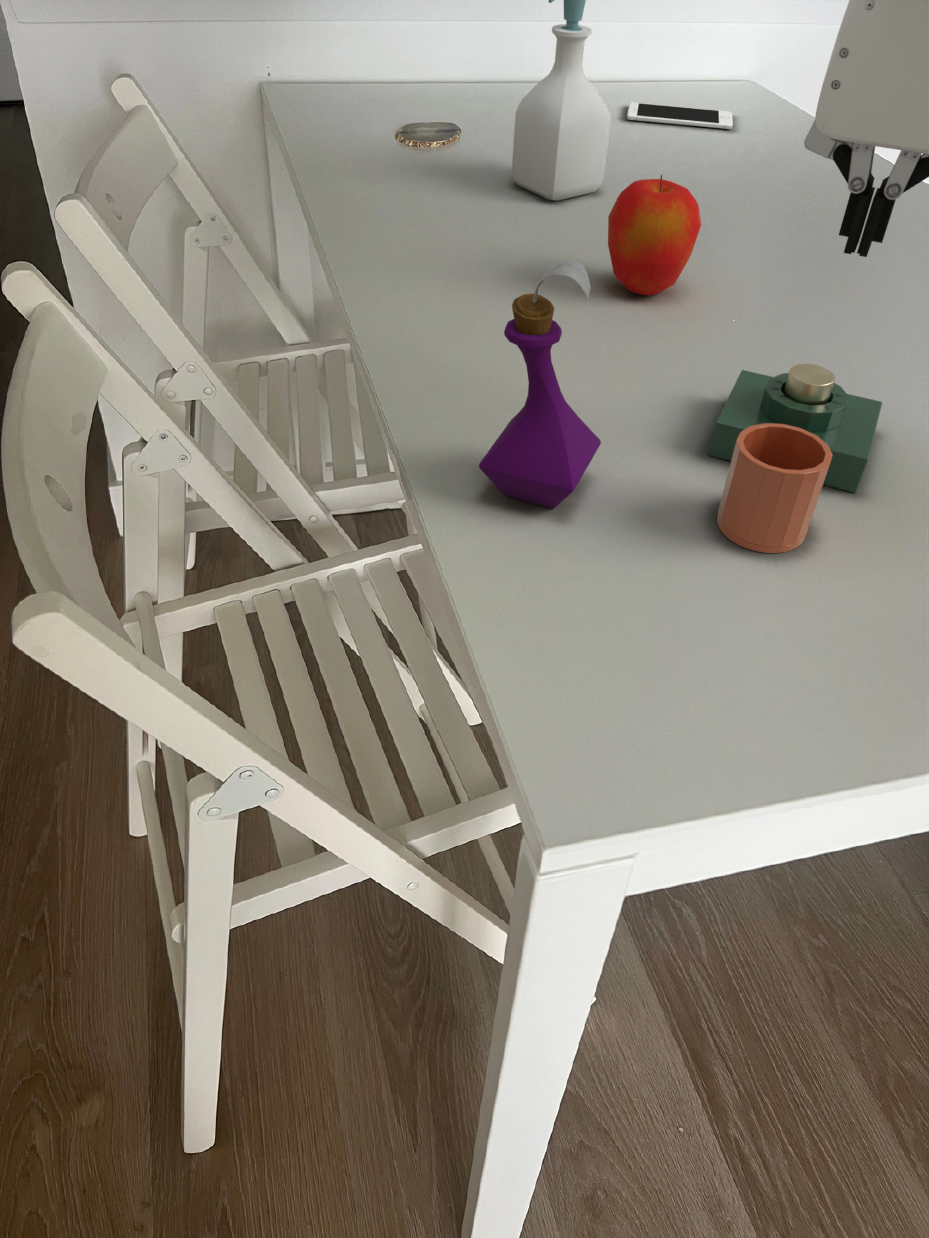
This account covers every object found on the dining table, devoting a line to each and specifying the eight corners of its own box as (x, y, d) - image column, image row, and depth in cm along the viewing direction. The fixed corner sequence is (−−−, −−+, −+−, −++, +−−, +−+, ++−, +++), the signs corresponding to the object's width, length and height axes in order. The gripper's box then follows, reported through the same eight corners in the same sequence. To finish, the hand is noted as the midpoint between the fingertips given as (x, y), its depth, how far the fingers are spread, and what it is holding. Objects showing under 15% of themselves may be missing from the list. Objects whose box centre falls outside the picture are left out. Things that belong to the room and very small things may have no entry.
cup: (811, 515, 76) (838, 436, 72) (797, 563, 72) (824, 483, 67) (727, 492, 78) (747, 415, 73) (707, 538, 74) (728, 458, 69)
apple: (590, 299, 104) (605, 181, 96) (611, 268, 110) (627, 154, 102) (677, 316, 102) (701, 196, 94) (693, 283, 108) (716, 168, 100)
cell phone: (732, 130, 150) (733, 125, 150) (626, 120, 152) (627, 115, 152) (731, 115, 156) (731, 111, 156) (629, 106, 158) (629, 102, 157)
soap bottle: (504, 184, 129) (517, -21, 114) (560, 172, 133) (579, -27, 118) (551, 207, 123) (572, -5, 108) (608, 194, 128) (635, -12, 113)
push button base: (870, 434, 86) (889, 382, 82) (855, 493, 79) (875, 439, 75) (733, 401, 89) (746, 350, 86) (707, 455, 82) (720, 402, 79)
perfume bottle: (475, 502, 76) (488, 273, 64) (509, 454, 81) (526, 234, 69) (568, 526, 74) (599, 296, 62) (596, 475, 79) (630, 254, 67)
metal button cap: (831, 392, 82) (838, 369, 80) (824, 412, 79) (831, 389, 78) (787, 382, 82) (793, 359, 81) (779, 401, 80) (785, 378, 79)
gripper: (1087, -57, 59) (971, 251, 71) (831, -80, 63) (762, 214, 75) (1091, -40, 53) (965, 289, 66) (811, -67, 58) (742, 247, 70)
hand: (857, 248), depth 70 cm, fingers closed
